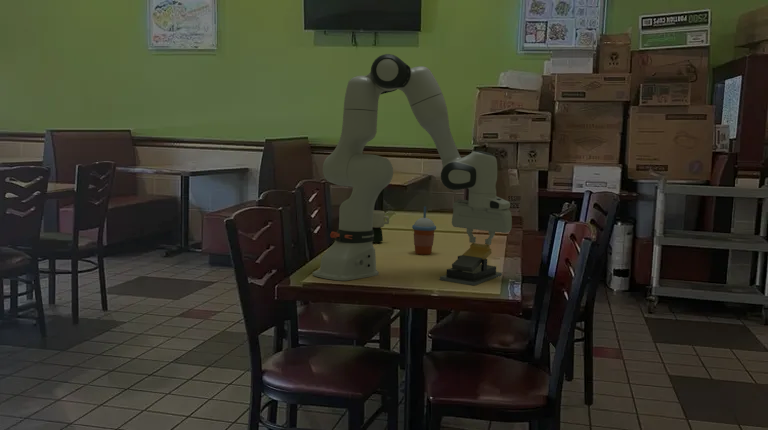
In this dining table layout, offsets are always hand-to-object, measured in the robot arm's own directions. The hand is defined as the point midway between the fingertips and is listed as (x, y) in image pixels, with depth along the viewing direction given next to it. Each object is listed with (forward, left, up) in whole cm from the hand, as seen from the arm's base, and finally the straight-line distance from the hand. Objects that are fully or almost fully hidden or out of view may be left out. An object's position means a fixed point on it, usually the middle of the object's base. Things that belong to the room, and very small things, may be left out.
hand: (480, 243), depth 230 cm
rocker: (-5, 0, -5) cm, 7 cm away
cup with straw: (+23, +35, -11) cm, 43 cm away
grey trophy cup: (+31, +63, -11) cm, 71 cm away
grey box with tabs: (-5, 0, -11) cm, 12 cm away
